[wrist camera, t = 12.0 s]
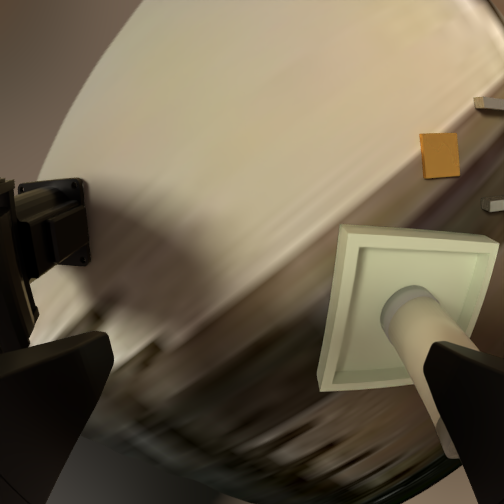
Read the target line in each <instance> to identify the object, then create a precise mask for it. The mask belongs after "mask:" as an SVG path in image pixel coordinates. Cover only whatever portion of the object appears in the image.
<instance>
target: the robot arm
mask: <svg viewBox="0 0 504 504" xmlns="http://www.w3.org/2000/svg"><path fill="white" fill-rule="evenodd" d="M75 182H76V184H77V187H75V186H74V183H75ZM14 188H15V183H14V179H12V180H5V178H0V504H46V502H47V500H48V498H49V496H50V493H51V491H52V489H53V487H54V485H55V483H56V481H57V479H58V477H59V475H60V473H61V471H62V469H63V467H64V465H65V463H66V461H67V459H68V457H69V455H70V453H71V451H72V449H73V447H74V445H75V443H76V442H77V440H78V438H79V436H80V434H81V432H82V430H83V428H84V427H85V425H86V423H87V421H88V419H89V417H90V416H91V414H92V412H93V410H94V408H95V406H96V404H97V402H98V400H99V398H100V396H101V393H102V391H103V388H104V386H105V383H106V381H107V379H108V376H109V374H110V371H111V369H112V367H113V363H114V355H113V351H112V347H111V344H110V340H109V336H108V334H107V333H106V332H101V331H90V332H86V333H83V334H79V335H75V336H71V337H67V338H64V339H60V340H56V341H52V342H48V343H44V344H40V345H36V346H32V347H29V345H30V340H29V337H30V335H31V333H32V331H33V329H34V325H35V323H36V321H37V319H38V317H39V311H38V308H37V306H35V302H34V299H33V295H32V291H31V287H30V283H32V282H33V281H34V280H36V279H37V278H39V277H40V276H42V275H43V274H45V273H46V272H47V271H49V270H50V269H51V268H53V267H54V266H55V265H57V264H58V265H71V266H86V265H88V264H89V263H90V261H91V257H90V250H89V243H88V242H89V236H88V228H87V219H86V209H85V207H84V197H83V184H82V181H81V179H80V178H65V179H55V180H45V181H35V182H27V183H22V184H20V185H19V186H18V195H16V196H14V190H13V189H14ZM23 188H24V191H23ZM83 257H84V258H85V260H86V261H84V260H83ZM423 373H424V376H425V379H426V381H427V384H428V387H429V389H430V392H431V395H432V397H433V400H434V403H435V405H436V408H437V410H438V413H439V415H440V417H441V419H442V421H443V423H444V425H445V427H446V429H447V431H448V434H449V436H450V438H451V440H452V442H453V444H454V447H455V449H456V451H457V453H458V456H459V458H460V460H461V462H462V465H463V467H464V469H465V472H466V474H467V477H468V479H469V481H470V484H471V486H472V489H473V491H474V494H475V497H476V499H477V502H478V504H504V358H500V357H497V356H493V355H490V354H487V353H483V352H480V351H477V350H473V349H470V348H467V347H464V346H460V345H457V344H454V343H450V342H447V341H437V342H434V343H432V345H431V347H430V349H429V352H428V354H427V357H426V359H425V362H424V365H423Z"/></svg>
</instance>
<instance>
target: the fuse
mask: <svg viewBox="0 0 504 504" xmlns="http://www.w3.org/2000/svg"><path fill="white" fill-rule="evenodd" d="M380 323H381V327H382V329H383V331H384V333H385V334H386V336H387V338H388V340H389V341H390V343H391V344H392V345H393V346H394V348H395V349H396V351H397V353H398V355H399V357H400V359H401V360H402V362H403V364H404V366H405V368H406V370H407V372H408V374H409V375H410V377H411V379H412V381H413V383H414V385H415V387H416V389H417V391H418V393H419V395H420V397H421V399H422V401H423V403H424V405H425V407H426V409H427V411H428V413H429V415H430V417H431V419H432V421H433V423H434V425H435V427H436V429H435V431H436V434H437V436H438V438H439V440H440V443H441V445H442V447H443V449H444V452H445V454H446V456H447V457H448V458H459V456H458V453H457V451H456V449H455V447H454V444H453V442H452V440H451V438H450V436H449V434H448V431H447V429H446V427H445V425H444V423H443V421H442V419H441V417H440V415H439V413H438V410H437V408H436V405H435V403H434V400H433V397H432V395H431V392H430V389H429V387H428V384H427V381H426V379H425V376H424V373H423V365H424V362H425V359H426V357H427V354H428V352H429V349H430V347H431V345H432V343H434V342H437V341H447V342H450V343H454V344H457V345H460V346H464V347H467V348H470V349H473V350H477V351H480V350H479V349H478V348H477V347H476V345H475V344H474V343H473V342H472V341H471V340H470V338H469V337H468V336H467V335H466V334H465V333H464V331H463V330H462V329H461V328H460V327H459V326H458V324H457V323H456V322H455V321H454V320H453V319H452V318H451V317H450V315H449V314H448V313H447V312H446V311H445V310H444V309H443V308H442V307H441V305H440V303H439V301H438V300H437V299H436V298H435V297H434V296H433V295H432V294H431V293H430V292H429V291H428V290H427V289H426V288H424V287H422V286H419V285H410V286H406V287H403V288H401V289H399V290H398V291H396V292H395V293H394V294H393V295H391V297H390V298H389V299H388V300H387V301H386V303H385V304H384V306H383V308H382V311H381V315H380ZM480 352H481V351H480Z"/></svg>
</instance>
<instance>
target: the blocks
mask: <svg viewBox="0 0 504 504" xmlns="http://www.w3.org/2000/svg"><path fill="white" fill-rule="evenodd" d="M474 104H475V108H479V109H491V110H500V111H504V99H497V98H489V97H475V98H474ZM419 135H420V144H421V154H422V165H423V178H426V179H427V178H438V177H450V176H460V169H459V154H458V142H457V133H429V134H419ZM481 208H482V209H484V210H487V211H489V212H494V211H501V210H504V195H503V196H495V197H486V198H481Z"/></svg>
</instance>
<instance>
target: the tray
mask: <svg viewBox="0 0 504 504" xmlns="http://www.w3.org/2000/svg"><path fill="white" fill-rule="evenodd" d="M498 247H499V243H497V242H496V241H494V240H492V239H490V238H488V237H487V236H485V235H478V234H468V233H457V232H446V231H434V230H422V229H409V228H395V227H381V226H365V225H349V224H340V228H339V236H338V245H337V253H336V261H335V269H334V276H333V283H332V290H331V296H330V303H329V309H328V315H327V321H326V327H325V333H324V338H323V344H322V349H321V354H320V360H319V365H318V370H317V379H318V384H319V389H320V392H323V391H345V390H361V389H373V388H384V387H393V386H402V385H410V384H414V383H413V381H412V379H411V377H410V375H409V374H408V372H407V370H406V368H405V366H404V364H403V362H402V360H401V359H400V357H399V355H398V353H397V351H396V349H395V348H394V346H393V345H392V344H391V343H390V341H389V340H388V338H387V336H386V334H385V333H384V331H383V329H382V327H381V323H380V315H381V311H382V308H383V306H384V304H385V303H386V301H387V300H388V299H389V298H390V297H391V295H393V294H394V293H395V292H396V291H398V290H399V289H401V288H403V287H406V286H410V285H419V286H422V287H424V288H426V289H427V290H428V291H429V292H430V293H431V294H432V295H433V296H434V297H435V298H436V299H437V300H438V301H439V303H440V305H441V307H442V308H443V309H444V310H445V311H446V312H447V313H448V314H449V315H450V317H451V318H452V319H453V320H454V321H455V322H456V323H457V324H458V326H459V327H460V328H461V329H462V330H463V331H464V333H465V334H466V335H467V336H468V337H469V338H470V336H471V334H472V331H473V329H474V326H475V324H476V321H477V318H478V315H479V313H480V310H481V307H482V304H483V301H484V298H485V295H486V291H487V288H488V285H489V282H490V278H491V275H492V271H493V267H494V264H495V260H496V256H497V252H498Z"/></svg>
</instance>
